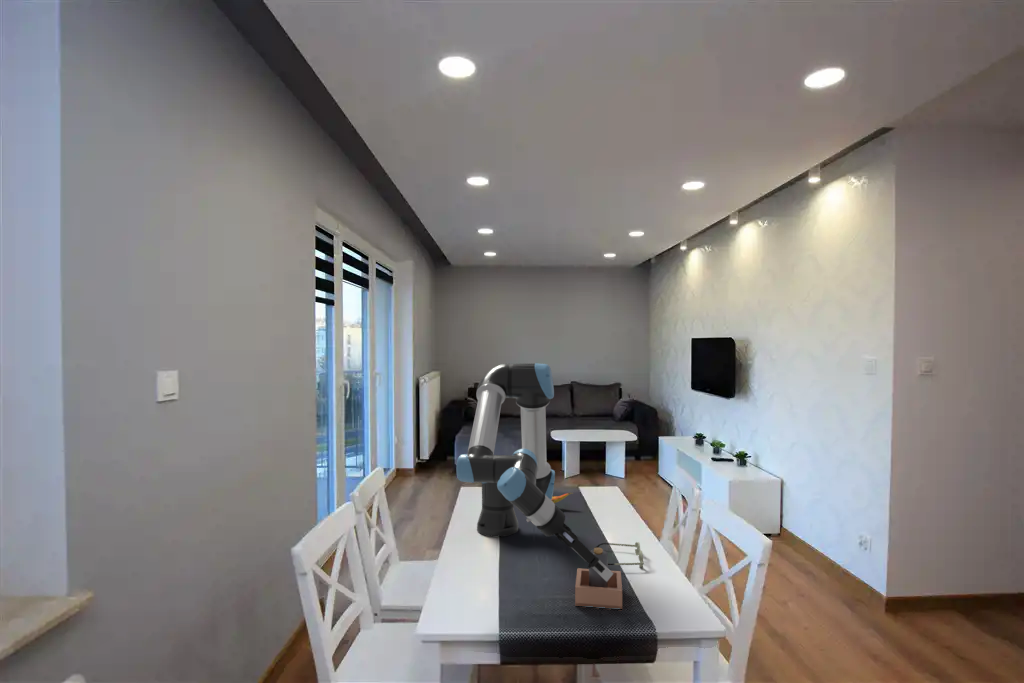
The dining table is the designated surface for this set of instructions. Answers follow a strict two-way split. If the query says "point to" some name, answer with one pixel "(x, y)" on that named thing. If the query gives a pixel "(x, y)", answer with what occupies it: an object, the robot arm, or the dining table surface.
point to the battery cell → (594, 577)
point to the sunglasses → (637, 551)
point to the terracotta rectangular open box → (598, 591)
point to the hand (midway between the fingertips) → (598, 566)
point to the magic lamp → (559, 497)
